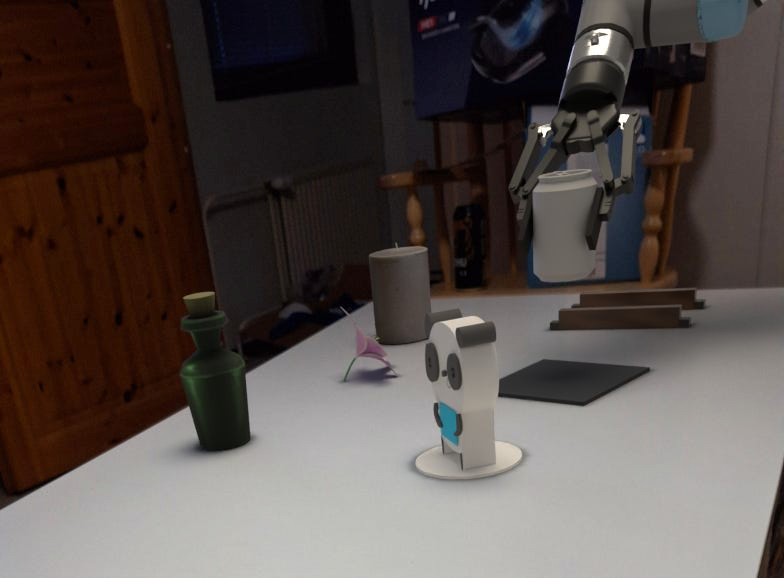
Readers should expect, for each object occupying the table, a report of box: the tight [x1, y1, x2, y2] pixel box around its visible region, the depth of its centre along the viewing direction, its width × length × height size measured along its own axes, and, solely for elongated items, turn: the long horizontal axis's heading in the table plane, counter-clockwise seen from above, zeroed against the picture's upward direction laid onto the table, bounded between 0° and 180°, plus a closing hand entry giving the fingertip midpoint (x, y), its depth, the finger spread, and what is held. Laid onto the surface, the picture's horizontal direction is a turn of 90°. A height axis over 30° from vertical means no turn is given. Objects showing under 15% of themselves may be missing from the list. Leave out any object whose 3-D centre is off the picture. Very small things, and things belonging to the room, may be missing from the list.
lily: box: [340, 306, 399, 382], centre depth 136 cm, size 12×12×10 cm
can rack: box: [549, 287, 707, 331], centre depth 147 cm, size 21×14×3 cm, turn 60°
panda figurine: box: [415, 307, 523, 481], centre depth 97 cm, size 12×11×15 cm
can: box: [532, 168, 598, 283], centre depth 113 cm, size 8×8×12 cm
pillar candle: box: [368, 242, 432, 345], centre depth 153 cm, size 10×10×15 cm
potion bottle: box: [179, 291, 251, 451], centre depth 114 cm, size 8×8×18 cm
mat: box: [498, 358, 651, 407], centre depth 121 cm, size 16×16×1 cm
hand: (556, 245), depth 112 cm, fingers closed on can, 7 cm apart
